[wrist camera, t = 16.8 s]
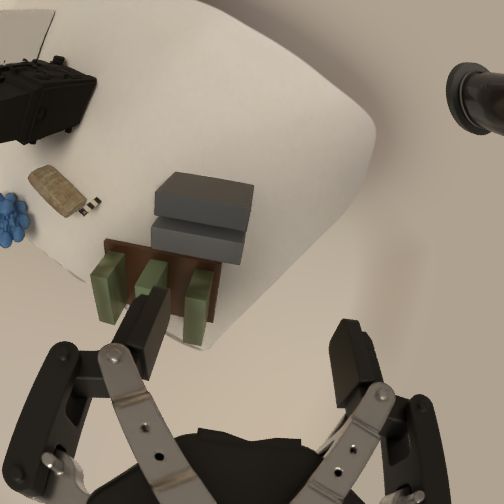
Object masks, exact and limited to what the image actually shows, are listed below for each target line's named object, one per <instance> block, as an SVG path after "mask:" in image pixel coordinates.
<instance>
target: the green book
mask: <svg viewBox="0 0 504 504" xmlns="http://www.w3.org/2000/svg"><path fill="white" fill-rule="evenodd" d="M167 271H168V262H164V261H159V260H154V259H150V260H149V262H148V263H147V265H146V267H145V269H144V270H143V272H142V274H141V275H140V277H139V279H138V281H137V282H136V284H135V295H136V298H137V297H138V296H139V295H140V294H145V295H149V293H150V291H151V289H152V287H153V286H154V285H157V286H161V287H166V288H167Z"/></svg>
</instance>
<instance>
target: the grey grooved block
mask: <svg viewBox="0 0 504 504" xmlns="http://www.w3.org/2000/svg"><path fill="white" fill-rule="evenodd" d="M253 191H254V185H250V184H245V183H240V182H234V181H229V180H223V179H218V178H212V177H206V176H200V175H193V174H187V173H180V172H175V173H173V174H172V175H171V176H170V177H169V178H168V179H167V180H166V181H165V182H164V183H163V184H162V185H161V186H160V187H159V189H158V190H157V191H156V192H155V209H154V215H156V216H159V217H158V218H157V220H156V221H155V222H154V224H153V225H152V226H151V248H152V249H158V250H163V251H168V252H173V253H178V254H183V255H188V256H193V257H199V258H204V259H209V260H214V261H220V262H225V263H230V264H236V265H240V262H241V257H242V252H243V247H244V242H245V235H246V231H247V226H248V222H249V217H250V212H251V206H252V199H253Z"/></svg>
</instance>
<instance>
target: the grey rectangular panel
mask: <svg viewBox="0 0 504 504" xmlns="http://www.w3.org/2000/svg"><path fill="white" fill-rule="evenodd" d="M53 16H54V10H6V11H0V65H2V64H3V65H5V64H10V63H19V62H25V61H22V60H23V58H25V59H27V60H28V61H29V62H31V61H32V60H33V59H37V57H38V54H39V51H40V48H41V45H42V43H43V40H44V37H45V35H46V32H47V30H48V27H49V25H50V23H51V20H52V18H53ZM4 60H5V63H4Z"/></svg>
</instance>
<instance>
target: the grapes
mask: <svg viewBox="0 0 504 504" xmlns="http://www.w3.org/2000/svg"><path fill="white" fill-rule="evenodd" d="M25 212H26V205H25V203H24V202H23V201H18V202H17V203H16V196H15V195H14V194H13V193H8V194H7V195H6V196H5V198H4V196H3V195H2V193H0V246H1V247H3V248H8V247H10V246H11V244H12V239H13V240H14V241H15V242H21V241H22V240H23V238H24V236H25V231H24V230H25V229H27V228H28V226H29V224H30V219H29V216H28V215H27V214H25Z"/></svg>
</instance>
